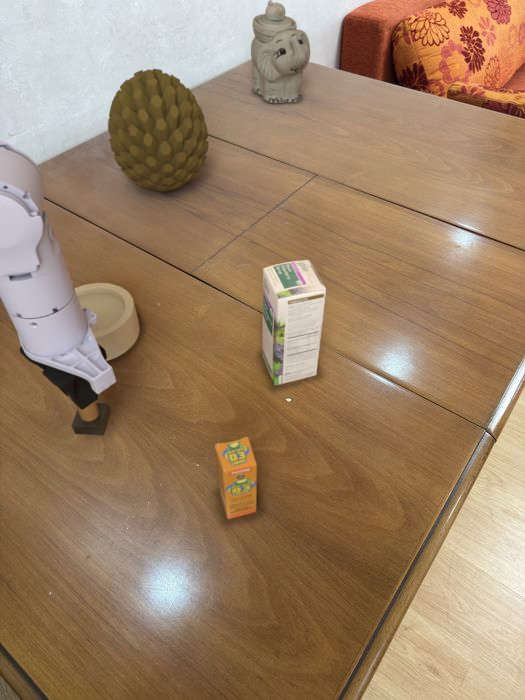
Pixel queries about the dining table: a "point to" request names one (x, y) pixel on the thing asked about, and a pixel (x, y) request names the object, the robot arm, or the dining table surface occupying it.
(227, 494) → the supplement box
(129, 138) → the decorative object
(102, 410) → the wooden handle stamp
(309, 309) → the syrup box
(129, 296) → the cream ceramic ramekin
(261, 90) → the grey elephant figurine
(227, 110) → the dining table surface
